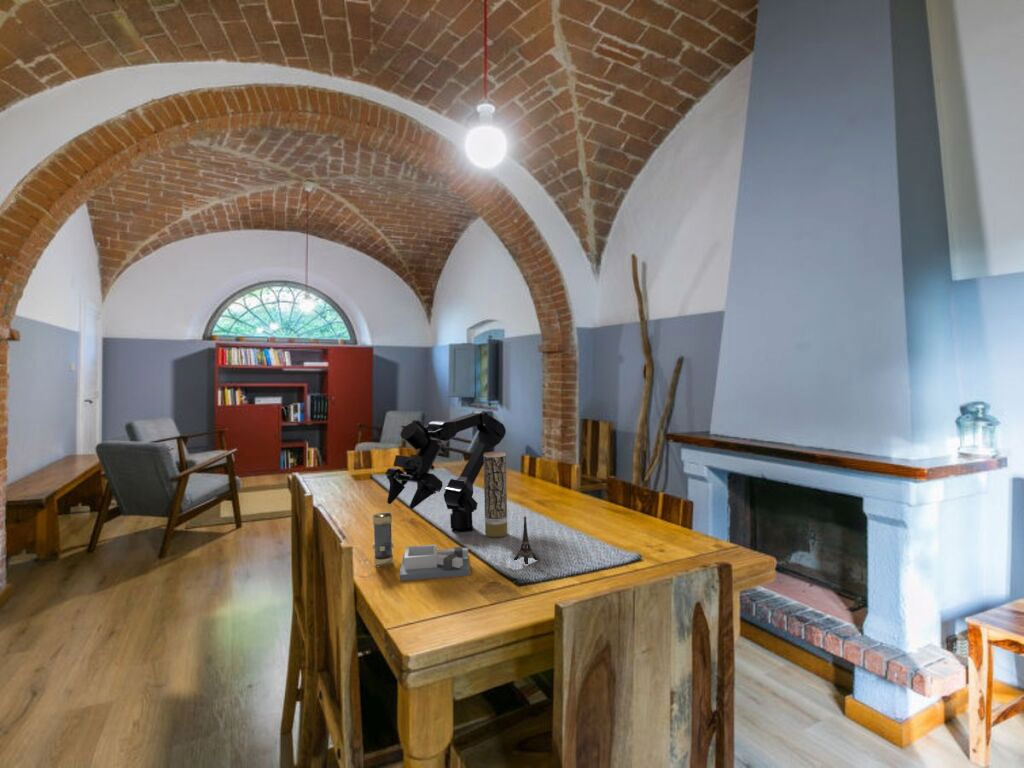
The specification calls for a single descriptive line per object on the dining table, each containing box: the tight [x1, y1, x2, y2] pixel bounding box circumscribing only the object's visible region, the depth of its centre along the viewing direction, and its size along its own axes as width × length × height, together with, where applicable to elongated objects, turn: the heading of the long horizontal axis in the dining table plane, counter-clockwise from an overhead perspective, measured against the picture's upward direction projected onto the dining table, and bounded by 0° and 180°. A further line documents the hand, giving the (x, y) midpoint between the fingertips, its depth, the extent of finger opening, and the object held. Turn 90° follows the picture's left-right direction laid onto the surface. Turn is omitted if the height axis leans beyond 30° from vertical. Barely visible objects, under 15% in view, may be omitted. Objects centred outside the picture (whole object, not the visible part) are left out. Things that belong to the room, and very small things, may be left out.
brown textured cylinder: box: [483, 451, 508, 538], centre depth 156 cm, size 7×7×25 cm
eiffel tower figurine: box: [513, 516, 540, 564], centre depth 135 cm, size 15×10×13 cm
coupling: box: [372, 512, 394, 568], centre depth 134 cm, size 5×5×13 cm
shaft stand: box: [399, 544, 471, 582], centre depth 131 cm, size 17×15×4 cm
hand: (399, 506), depth 142 cm, fingers open, 9 cm apart
